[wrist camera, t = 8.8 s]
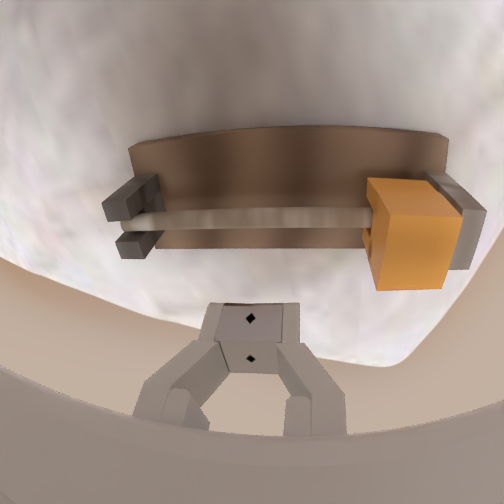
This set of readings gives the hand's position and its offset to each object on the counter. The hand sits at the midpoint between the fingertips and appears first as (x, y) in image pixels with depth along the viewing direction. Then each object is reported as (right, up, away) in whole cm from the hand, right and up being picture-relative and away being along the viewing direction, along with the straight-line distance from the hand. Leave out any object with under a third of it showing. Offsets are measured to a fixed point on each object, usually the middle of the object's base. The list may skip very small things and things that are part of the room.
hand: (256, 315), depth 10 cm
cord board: (+3, +7, +11) cm, 13 cm away
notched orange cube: (+9, +5, +7) cm, 12 cm away
